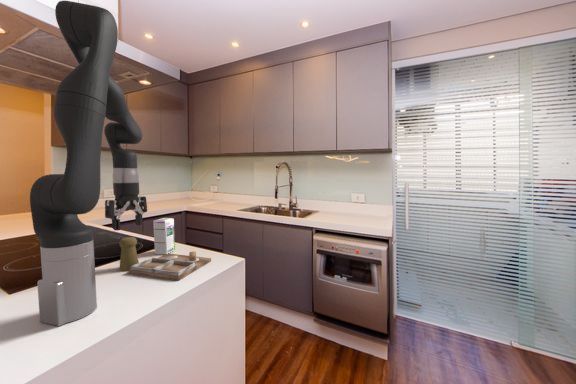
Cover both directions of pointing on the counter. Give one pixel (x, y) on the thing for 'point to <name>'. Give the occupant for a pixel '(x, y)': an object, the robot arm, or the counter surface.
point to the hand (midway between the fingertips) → (128, 227)
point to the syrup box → (164, 235)
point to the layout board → (169, 266)
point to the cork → (128, 253)
